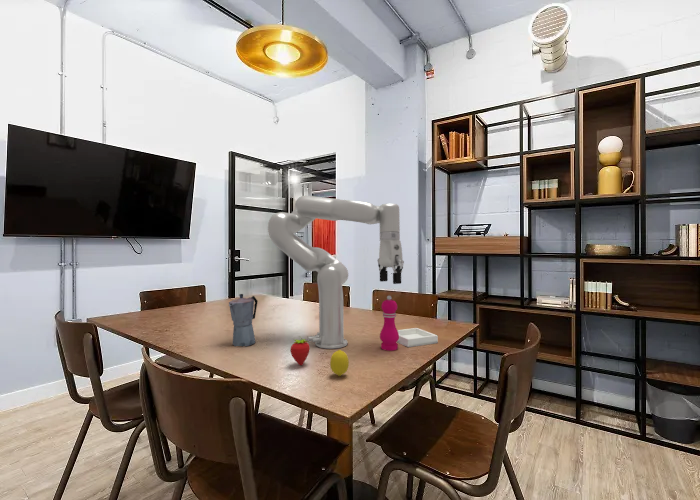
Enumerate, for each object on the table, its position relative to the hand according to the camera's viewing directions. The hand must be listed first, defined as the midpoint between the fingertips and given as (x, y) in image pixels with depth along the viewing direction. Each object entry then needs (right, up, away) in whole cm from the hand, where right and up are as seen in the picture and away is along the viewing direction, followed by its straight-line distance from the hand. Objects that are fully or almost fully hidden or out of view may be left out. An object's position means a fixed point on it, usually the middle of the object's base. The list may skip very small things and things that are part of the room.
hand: (390, 282), depth 134 cm
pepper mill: (0, -25, +1) cm, 25 cm away
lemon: (-18, -26, -27) cm, 42 cm away
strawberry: (-31, -26, -18) cm, 44 cm away
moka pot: (-57, -25, +8) cm, 63 cm away
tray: (+10, -25, +11) cm, 29 cm away
